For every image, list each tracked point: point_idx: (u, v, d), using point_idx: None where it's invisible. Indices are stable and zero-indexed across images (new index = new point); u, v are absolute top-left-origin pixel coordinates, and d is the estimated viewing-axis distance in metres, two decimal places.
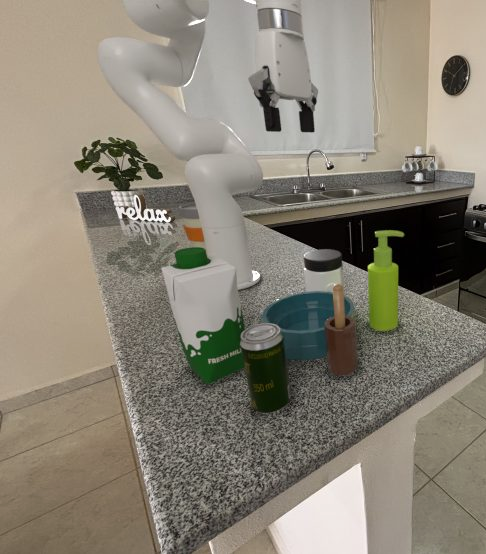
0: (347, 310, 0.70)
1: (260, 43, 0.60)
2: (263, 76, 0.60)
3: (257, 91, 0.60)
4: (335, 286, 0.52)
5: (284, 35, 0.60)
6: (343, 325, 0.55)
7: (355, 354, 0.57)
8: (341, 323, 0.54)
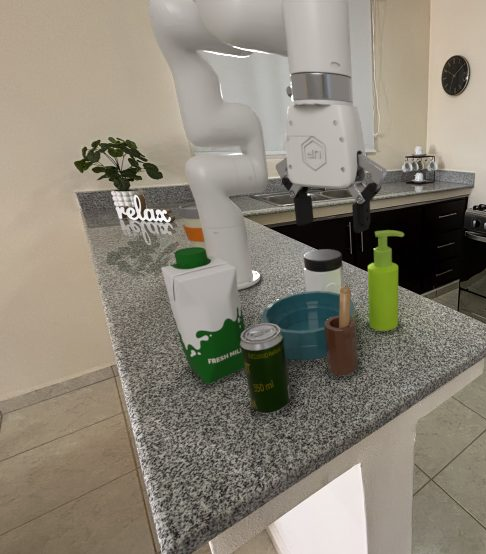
0: None
1: (353, 122, 0.43)
2: None
3: (380, 185, 0.45)
4: (343, 288, 0.52)
5: None
6: None
7: (355, 354, 0.57)
8: (345, 325, 0.54)
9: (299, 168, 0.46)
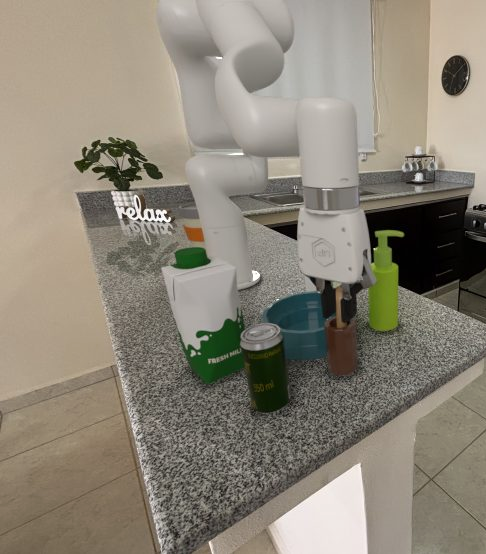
0: None
1: (360, 226, 0.47)
2: None
3: None
4: (338, 287, 0.52)
5: None
6: (345, 326, 0.55)
7: (355, 354, 0.57)
8: (343, 324, 0.54)
9: (309, 262, 0.50)
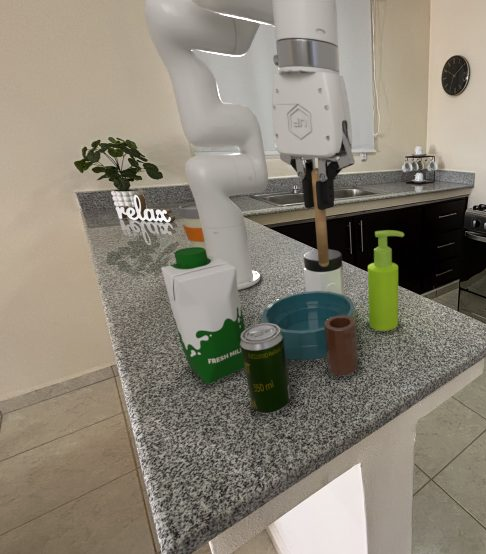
0: (347, 310, 0.70)
1: (338, 90, 0.43)
2: None
3: None
4: (314, 169, 0.49)
5: None
6: (323, 216, 0.52)
7: (355, 354, 0.57)
8: (321, 213, 0.51)
9: (285, 137, 0.46)
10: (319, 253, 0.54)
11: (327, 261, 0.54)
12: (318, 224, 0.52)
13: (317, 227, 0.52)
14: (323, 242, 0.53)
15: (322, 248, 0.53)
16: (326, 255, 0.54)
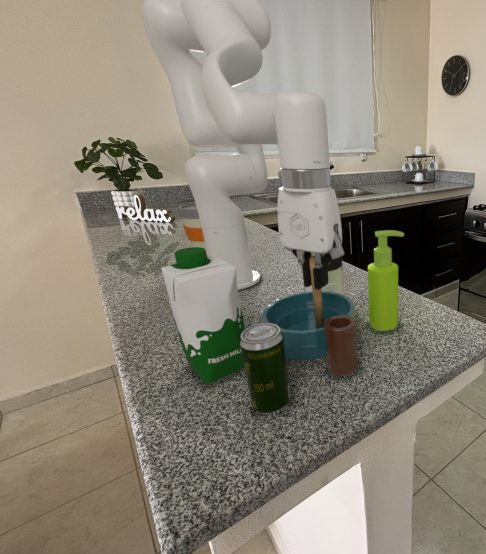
0: (347, 310, 0.70)
1: (330, 203, 0.54)
2: None
3: None
4: (311, 257, 0.60)
5: None
6: (319, 293, 0.63)
7: (355, 354, 0.57)
8: (317, 291, 0.62)
9: (288, 235, 0.57)
10: (316, 321, 0.65)
11: None
12: (315, 299, 0.63)
13: (314, 301, 0.63)
14: (319, 313, 0.64)
15: (318, 317, 0.64)
16: (322, 322, 0.65)
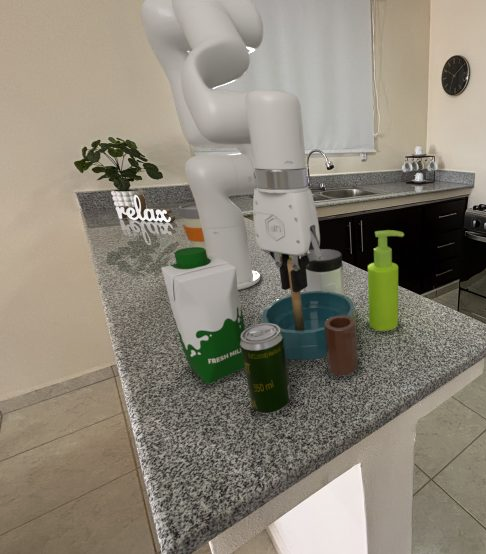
0: (347, 310, 0.70)
1: (306, 204, 0.53)
2: None
3: None
4: (289, 259, 0.59)
5: None
6: (298, 295, 0.61)
7: (355, 354, 0.57)
8: (296, 293, 0.61)
9: (264, 237, 0.56)
10: (295, 324, 0.63)
11: None
12: (294, 302, 0.61)
13: (293, 304, 0.62)
14: (298, 316, 0.63)
15: (298, 320, 0.63)
16: (301, 326, 0.64)
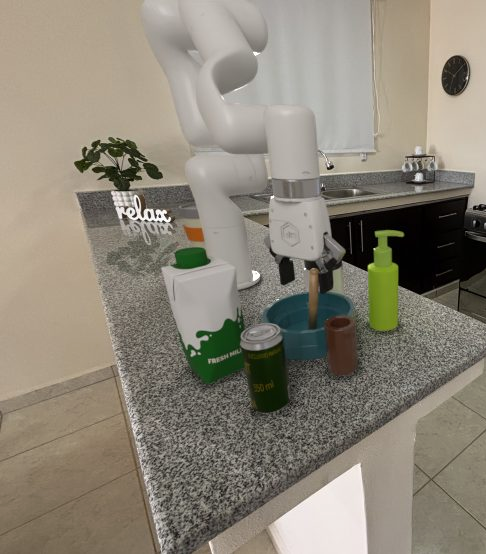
0: (347, 310, 0.70)
1: (320, 212, 0.56)
2: None
3: (339, 260, 0.59)
4: (312, 270, 0.59)
5: None
6: (316, 302, 0.63)
7: (355, 354, 0.57)
8: (314, 301, 0.62)
9: (279, 243, 0.59)
10: (309, 326, 0.65)
11: None
12: (311, 308, 0.63)
13: (310, 309, 0.63)
14: (313, 320, 0.64)
15: (312, 324, 0.65)
16: (315, 328, 0.66)
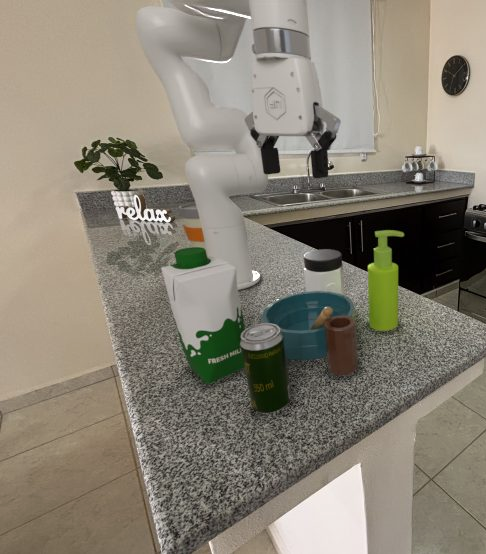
0: (347, 310, 0.70)
1: (309, 74, 0.48)
2: None
3: (335, 134, 0.51)
4: (326, 312, 0.55)
5: None
6: (323, 325, 0.60)
7: (355, 354, 0.57)
8: (321, 325, 0.60)
9: (263, 118, 0.51)
10: None
11: None
12: (317, 327, 0.61)
13: (315, 327, 0.61)
14: None
15: None
16: None
